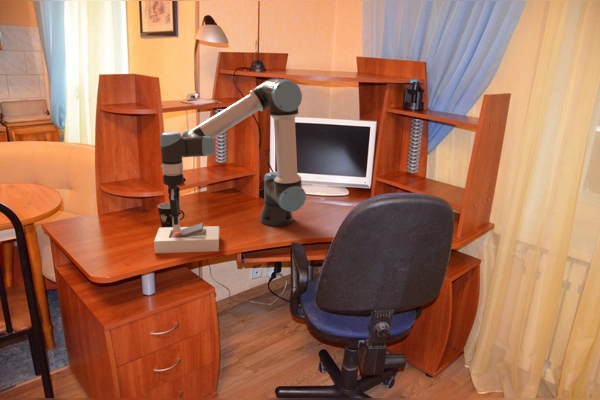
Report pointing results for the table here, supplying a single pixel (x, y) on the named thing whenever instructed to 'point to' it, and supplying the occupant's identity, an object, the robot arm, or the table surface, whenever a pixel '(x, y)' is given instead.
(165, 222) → the coffee mug
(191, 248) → the breaker panel
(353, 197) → the table surface
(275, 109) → the robot arm
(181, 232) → the breaker rocker
